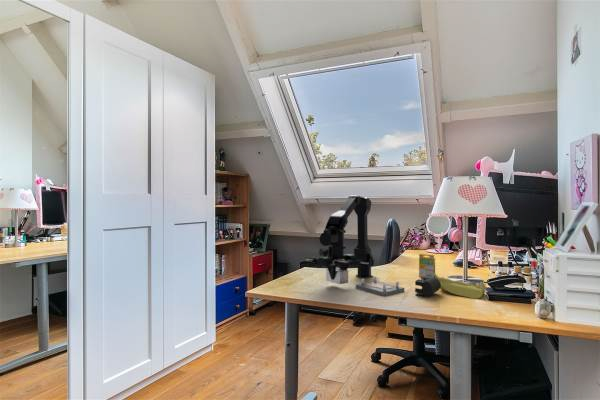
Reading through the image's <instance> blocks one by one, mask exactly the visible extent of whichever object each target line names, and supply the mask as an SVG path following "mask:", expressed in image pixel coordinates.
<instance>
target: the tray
mask: <svg viewBox="0 0 600 400" xmlns="http://www.w3.org/2000/svg"><path fill="white" fill-rule="evenodd" d="M377 279H378V278H377V276H373V280H372V281H367V282H365V278H361V279H360V280H361V281H360V283H357V284H355V289H357V290H361V291H365V292H368V293H371V294H375V295H379V296H382V297H387V296H391V295H395V294H399V293H403V292H405V287H403V286H399V284H400V283H399V281H395V285H394V284H391V283H390V284H389V283H386V282H381V281H379V280H377Z"/></svg>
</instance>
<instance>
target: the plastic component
mask: <svg viewBox="0 0 600 400" xmlns="http://www.w3.org/2000/svg"><path fill="white" fill-rule="evenodd" d="M434 276H435V278H437V279H438V280H439V281H440V284H441V287H440V289H439V290H441V291H445V292H449V293H450V294H454V295H456V296H460V297H465V298H469V299H474V298H475V299H474V300H476V299H477V300H478V299H480V298H482V296H483V295H485V293H486V284H485V282H482V285H481V286H480V285H475V284H471V283H470V284H469V283H464V282H459V281H455V280H452V279H448V278H445V277H442V276H438V275H437V273H436V272H435V273H434Z"/></svg>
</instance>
